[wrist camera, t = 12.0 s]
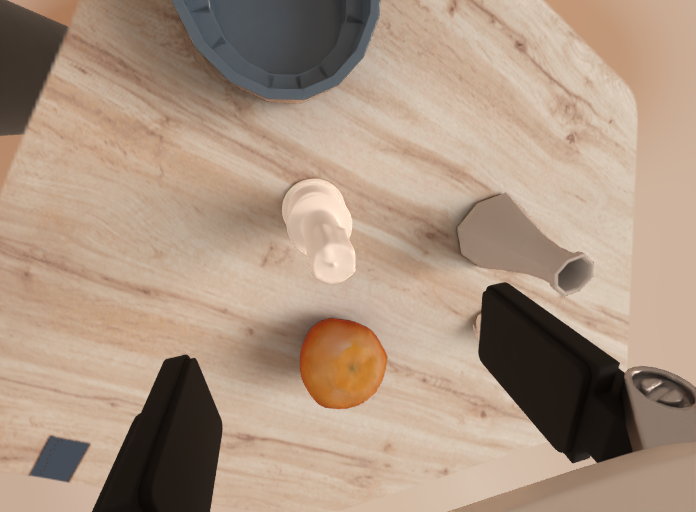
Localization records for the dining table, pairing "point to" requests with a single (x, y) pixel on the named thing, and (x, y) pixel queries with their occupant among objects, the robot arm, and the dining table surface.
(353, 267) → the candle
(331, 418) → the dining table surface
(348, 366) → the fruit
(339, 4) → the bowl
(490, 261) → the flask
